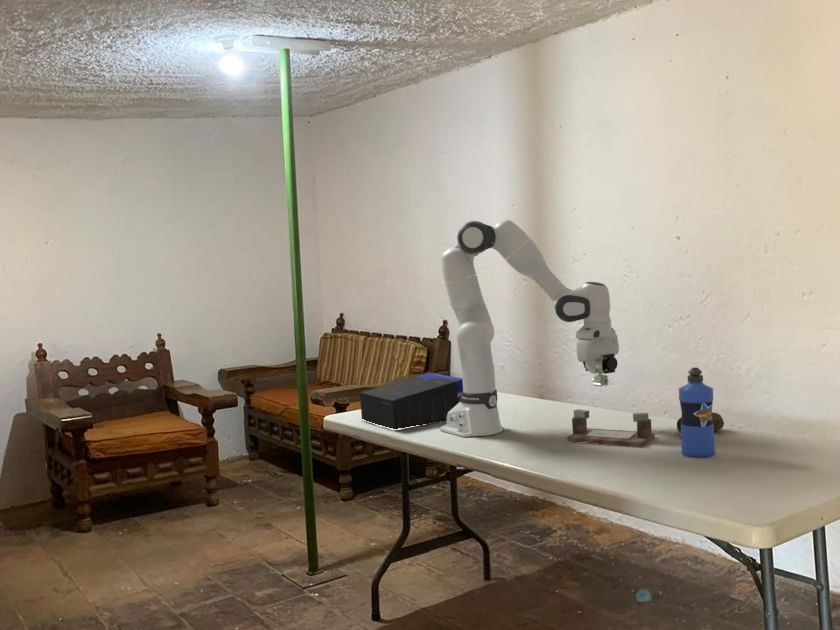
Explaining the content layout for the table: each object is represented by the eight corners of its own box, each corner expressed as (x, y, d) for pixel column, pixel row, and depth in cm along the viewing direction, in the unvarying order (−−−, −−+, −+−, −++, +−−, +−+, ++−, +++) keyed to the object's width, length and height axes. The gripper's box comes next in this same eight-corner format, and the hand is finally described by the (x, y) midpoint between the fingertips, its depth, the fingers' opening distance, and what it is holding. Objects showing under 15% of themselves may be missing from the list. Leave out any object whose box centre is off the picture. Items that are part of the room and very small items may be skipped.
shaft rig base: (567, 441, 260) (566, 421, 259) (581, 432, 271) (580, 413, 270) (642, 447, 247) (641, 426, 247) (654, 437, 258) (653, 417, 258)
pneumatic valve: (593, 383, 281) (592, 348, 280) (618, 386, 271) (617, 350, 270) (581, 384, 278) (580, 349, 277) (606, 388, 268) (605, 352, 267)
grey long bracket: (569, 435, 262) (568, 413, 261) (578, 429, 269) (577, 408, 268) (645, 440, 249) (644, 417, 249) (652, 434, 256) (651, 412, 255)
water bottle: (674, 452, 239) (670, 368, 237) (699, 447, 243) (696, 364, 240) (696, 459, 231) (692, 372, 228) (722, 454, 234) (719, 368, 232)
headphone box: (474, 415, 309) (472, 377, 308) (395, 431, 290) (392, 392, 289) (438, 406, 330) (435, 371, 329) (361, 421, 311) (358, 384, 310)
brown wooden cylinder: (692, 440, 252) (691, 418, 252) (675, 436, 259) (674, 415, 258) (726, 431, 259) (726, 411, 259) (709, 428, 266) (708, 407, 265)
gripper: (606, 326, 282) (608, 366, 283) (572, 333, 268) (574, 375, 269) (622, 326, 278) (624, 367, 279) (588, 334, 263) (590, 377, 265)
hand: (599, 371), depth 274 cm, fingers closed on pneumatic valve, 5 cm apart
